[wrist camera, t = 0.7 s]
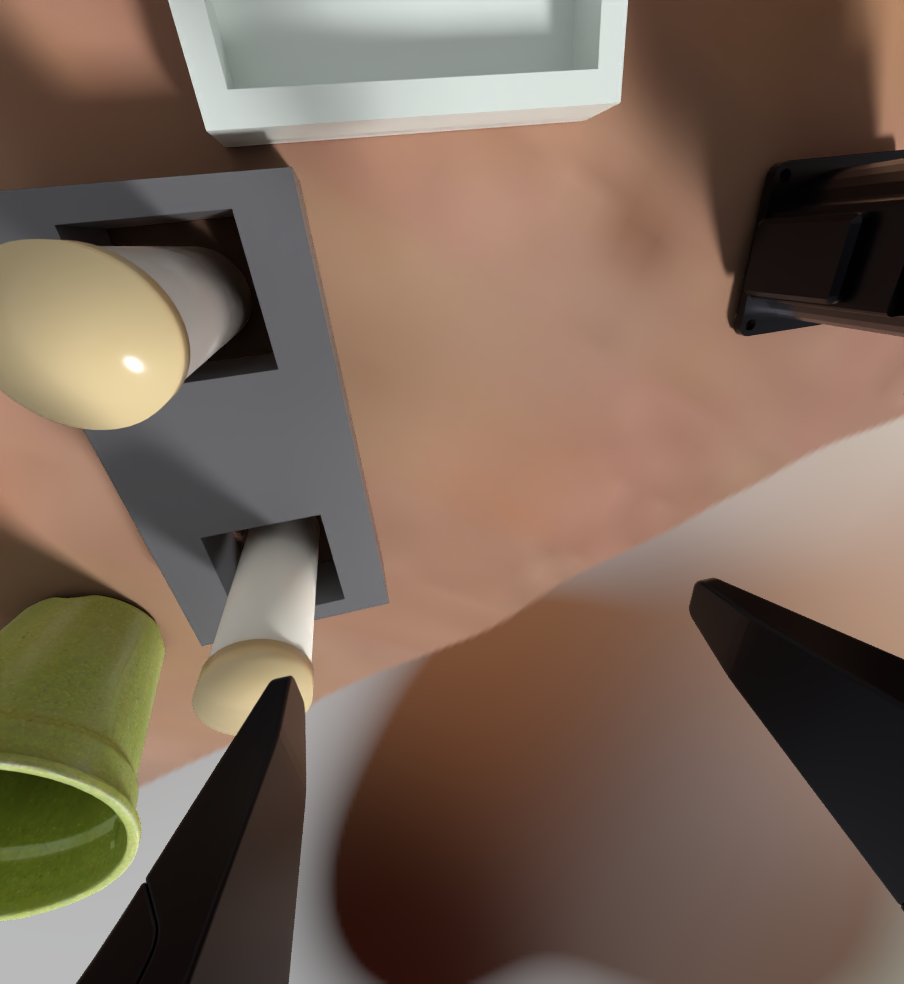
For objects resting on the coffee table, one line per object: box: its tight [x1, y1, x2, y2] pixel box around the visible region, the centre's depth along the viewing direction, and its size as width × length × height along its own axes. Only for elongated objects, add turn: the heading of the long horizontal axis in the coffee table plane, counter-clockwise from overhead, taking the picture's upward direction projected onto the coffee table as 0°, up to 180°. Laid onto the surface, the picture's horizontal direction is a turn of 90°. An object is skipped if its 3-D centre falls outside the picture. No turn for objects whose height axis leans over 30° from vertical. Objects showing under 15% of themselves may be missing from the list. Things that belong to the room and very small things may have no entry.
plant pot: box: [0, 595, 165, 921], centre depth 17 cm, size 9×9×9 cm
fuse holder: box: [0, 167, 389, 646], centre depth 17 cm, size 8×16×3 cm, turn 5°
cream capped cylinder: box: [0, 239, 252, 430], centre depth 12 cm, size 3×3×9 cm
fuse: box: [192, 516, 320, 736], centre depth 17 cm, size 3×3×9 cm
